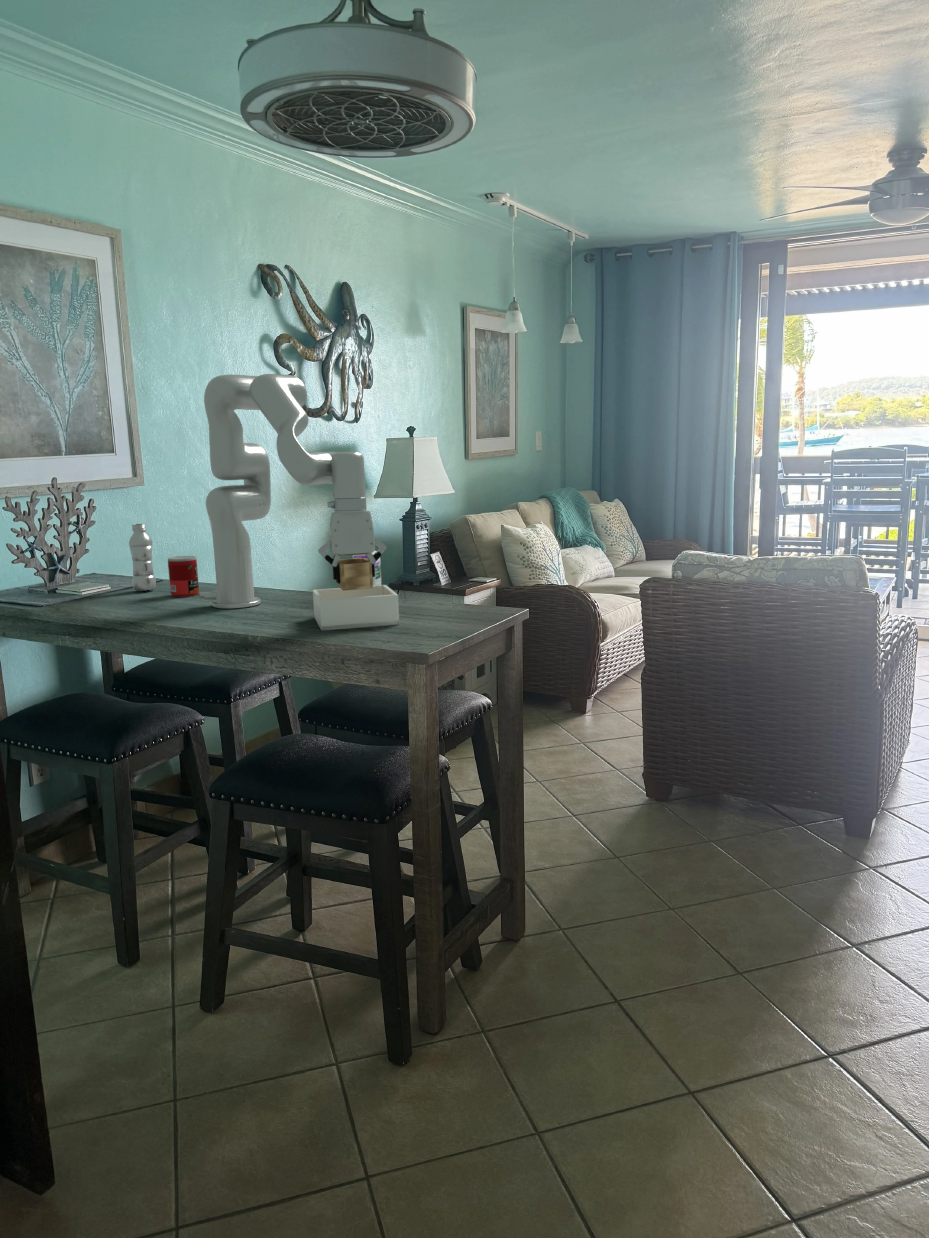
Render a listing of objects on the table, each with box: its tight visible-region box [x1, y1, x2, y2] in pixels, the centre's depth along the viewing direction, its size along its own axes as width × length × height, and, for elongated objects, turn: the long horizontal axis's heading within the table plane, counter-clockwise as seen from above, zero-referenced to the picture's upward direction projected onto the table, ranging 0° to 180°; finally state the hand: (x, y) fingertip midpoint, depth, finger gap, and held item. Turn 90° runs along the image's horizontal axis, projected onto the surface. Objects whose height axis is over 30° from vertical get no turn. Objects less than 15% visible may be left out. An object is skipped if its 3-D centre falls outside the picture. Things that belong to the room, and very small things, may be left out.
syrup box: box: [351, 550, 383, 586], centre depth 227 cm, size 6×6×14 cm
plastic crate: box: [312, 584, 400, 631], centre depth 210 cm, size 18×16×7 cm
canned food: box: [167, 555, 200, 597], centre depth 255 cm, size 8×8×11 cm
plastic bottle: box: [128, 523, 157, 592], centre depth 263 cm, size 6×7×20 cm
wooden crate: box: [336, 558, 373, 590], centre depth 209 cm, size 7×10×6 cm
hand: (354, 580), depth 209 cm, fingers closed on wooden crate, 7 cm apart
